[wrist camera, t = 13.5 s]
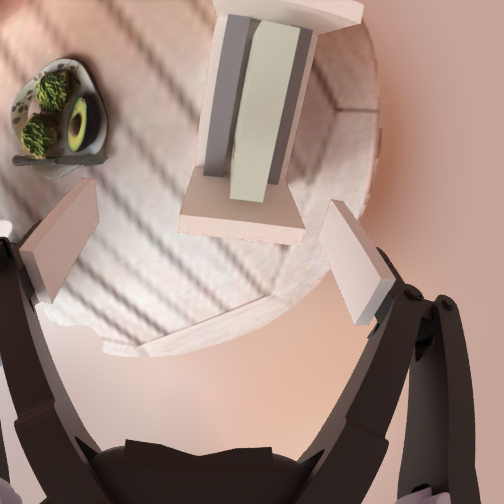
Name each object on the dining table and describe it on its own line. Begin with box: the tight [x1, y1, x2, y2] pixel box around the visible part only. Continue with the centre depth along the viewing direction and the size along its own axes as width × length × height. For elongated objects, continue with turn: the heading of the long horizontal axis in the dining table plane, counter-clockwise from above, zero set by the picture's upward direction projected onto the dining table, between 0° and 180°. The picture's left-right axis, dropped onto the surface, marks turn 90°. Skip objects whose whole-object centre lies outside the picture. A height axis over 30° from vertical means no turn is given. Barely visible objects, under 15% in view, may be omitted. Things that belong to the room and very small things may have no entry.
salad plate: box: [10, 58, 108, 179], centre depth 29 cm, size 19×18×5 cm
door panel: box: [230, 20, 300, 203], centre depth 26 cm, size 16×3×12 cm, turn 170°
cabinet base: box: [178, 0, 364, 246], centre depth 26 cm, size 24×12×14 cm, turn 170°
